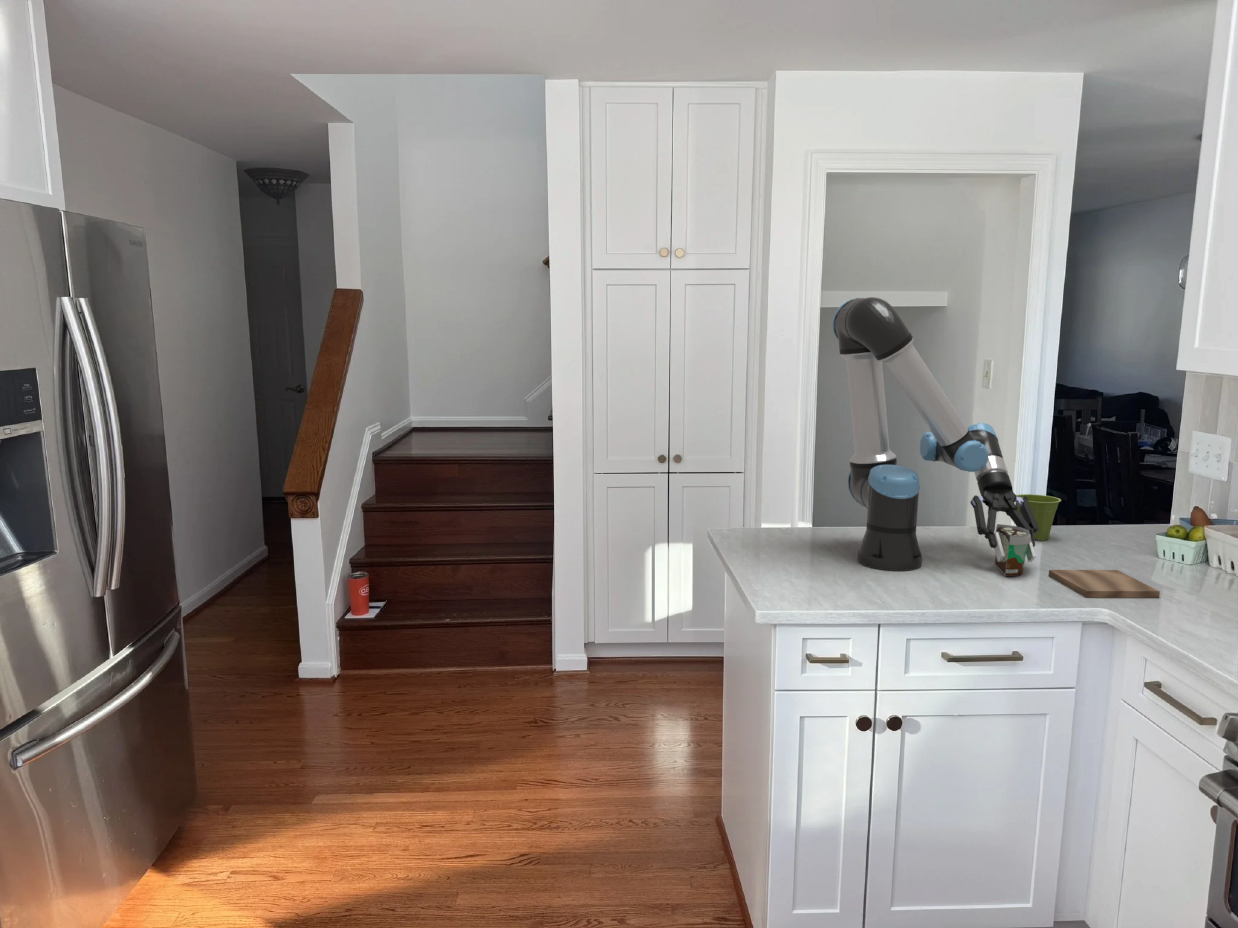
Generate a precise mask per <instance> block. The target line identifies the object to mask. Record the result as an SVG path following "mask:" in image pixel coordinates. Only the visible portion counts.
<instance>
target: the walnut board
mask: <svg viewBox="0 0 1238 928" xmlns="http://www.w3.org/2000/svg"><path fill="white" fill-rule="evenodd" d="M1048 577H1049V578H1051V579H1053V580H1055V581H1056V582H1059V583H1060V584H1062V585H1063V586H1065V587H1066V588H1068V589H1070V590H1072V591H1074V592H1075V593H1077V594H1078V595H1080V596H1082V597H1084V599H1085V598H1087V599H1088V598H1089V599H1092V598H1093V599H1097V598H1098V599H1099V598H1100V599H1101V598H1102V599H1103V598H1104V599H1108V598H1109V599H1114V598H1115V599H1117V598H1118V599H1127V598H1128V599H1133V598H1134V599H1137V598H1138V599H1159V598H1160V595H1161V591H1160V590H1158V589H1156V588H1154V587H1153V586H1151V585H1148V584H1146V583H1144V582H1142V581H1140V580H1138V579H1136V578H1134V577H1132V576H1130V575H1128V574H1126V573H1124V572H1122V571H1120V570H1118V569H1048Z"/></svg>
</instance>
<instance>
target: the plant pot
mask: <svg viewBox="0 0 1238 928" xmlns="http://www.w3.org/2000/svg"><path fill="white" fill-rule="evenodd" d="M1015 495H1016V496H1017V497H1021V498H1023V497H1024V496H1027V497H1028V500H1029V506H1030V509H1031V511H1032V513H1033V515H1034V518H1035V520H1036V522H1037V524H1038V527H1039V530H1038V532H1037V533H1036V534H1035V535H1034V536H1033V537H1034V541H1036V540H1039V541H1046V540H1049V538H1050V533H1051V530H1052V526H1053V522H1054V518H1055V515H1056V511H1057V510H1058V506H1059V503H1061V502H1062V499H1061V498H1059V497H1055V496H1050V495H1045V494H1044V495H1042V494H1032V493H1031V494H1030V493H1025V494H1023V493H1022V494H1015ZM1015 505H1016V506H1017V509H1018V511H1019V512H1020V514H1021V515H1022V513H1021V511H1020V507H1018V504H1017V502H1015Z"/></svg>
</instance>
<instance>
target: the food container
mask: <svg viewBox="0 0 1238 928" xmlns="http://www.w3.org/2000/svg"><path fill="white" fill-rule="evenodd" d="M995 532H998V533H999V536H1000V540H1001V543H1002V547H1003V550H1004V553H1005V557H1004V558H1003V560H1002V561H1001V562H998V561H997V557H996V554H995V553H994V555H995V556H994V566H995V567H996V568H997V569H998V570H999V571H1000V572H1001V573H1002V574H1003V576H1004V577H1018V576H1021V575H1023V572H1024V569H1025V568H1024V566H1025V562H1026V558H1027V556H1026V551H1027V546H1028V543H1030V542H1031V535H1030V534H1029V531H1028V530H1026V529H1023V528H1020V527H1017V526H1016V525H1011V524H1001V523H1000V524H997V523H996V526H995Z"/></svg>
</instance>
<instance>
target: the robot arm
mask: <svg viewBox="0 0 1238 928" xmlns="http://www.w3.org/2000/svg"><path fill="white" fill-rule="evenodd" d="M831 323H832V330H833V334H834V336H835V337H836V339H837V340H838V349H839V356H840V357H842V359H844V360H845V361H846V369H847V377H848V378H847V379H848V392H849V400H850V401H849V403H850V411H851V412H850V413H851V423H852V435H853V446H854V447H853V448H854V454H853V455H852V456H851V457H850V458H849V469H850V471H849V473H848V475H847V480H846V481H847V483H846V484H847V489H848V491H849V494H850V496H852V498H853V499H854V500H855V501H856V502H857V503H858V504H860V505H861V506H862V507H865V508H866V509H867V513H866V530H865V532H864V534H863V538H862V539H861V542H860V545H859V547H858V550H857V562H858V563H859V564H862V565H863V566H866V567H869V568H874V569H878V570H884V571H886V570H887V571H898V572H899V571H900V572H901V571H902V572H903V571H913V570H916V569H919V568H921V567H922V561H923V555H922V552H921V547H920V544H919V540H918V537H917V521H918V508H919V507H918V506H919V495H920V494H919V493H920V487H921V486H920V477H919V473H917V471H916V470H913V469H912V468H910V467H906V466H902V465H898V462H897V455H896V454H895V453H894V452H893V451H891V449H890V441H889V440H890V439H889V429H888V416H887V406H886V393H885V392H886V391H885V381H884V370H883V369H884V368H883V364H885V366H886V367H887V369H888V371H889V373H890V374H891V375H892V377H893V378H894V379H895V381H896V382H897V384H898V385H899V387H900V388H901V390H902V391H903V393H904V394H905V396H906V397H907V399H908V400H909V402H910V404H911V405H912V406H913V407H914V409H915V410H916V412H917V414H918V415H919V417H920V418H921V419H922V421H923V422H924V424H925V425H926V427H927V428H928V429H929V431H925V433H923V435H922V436H921V437H920V442H919V453H920V456H921V458H922V460H924V461H927V462H929V461H930V462H934V463H935V462H943V463H945V464H948V465H950V466H952V467H955V468H957V469H959V470H961V471H964V472H968V473H969V472H970V473H974V477H975V480H976V482H977V487H978V491H979V493H980V496H978V495H975V494H974V496H973V497H972V498H971V500H970V501H969V502H970V505H971V506H972V508H973V512H974V517H975V524H976V525H975V526H976V531H977V534H978V535H980V536H982V535H984V538H985V539H986V540H987V542H988V543H989V546H990V548H991V549H994V555H995V554H996V557H997V561H998V562H1001V561H1002V560H1003V558H1004V557H1005V553H1004V550H1003V547H1002V543H1001V540H1000V536H999V533H998V532H996V521H997V513H999V512H1003V513H1005V514H1006V515H1007V516H1008V517H1009V518H1010V519H1011V521H1012V522H1013V523H1014V524H1015V525H1014V526H1016V527H1020V528H1023V529H1026V530H1028V531H1029V534H1030V535H1031V542H1030V543H1028V546H1027V551H1026V559H1027V562H1028V563H1032V562H1033V561H1035V559H1036V557H1037V554H1036V550H1035V549H1034V548H1035V546H1036V542H1035V541H1036V540H1034V537H1033V536H1034V535H1035V534H1036V533H1037V532H1038V530H1039V527H1038V524H1037V522H1036V520H1035V518H1034V515H1033V513H1032V511H1031V509H1030V506H1029V500H1028V497H1027V496H1024V497H1023V498H1021V497H1017V496H1016V495H1017V494H1016V493H1014V490H1013V489H1014V488H1013V484H1012V482H1011V479H1010V475H1009V472H1008V469H1007V466H1006V463H1005V459H1004V456H1003V452H1002V449H1001V447H1000V443H999V437H997V434H996V431H995V430H994V428H993V427H992V425H990V424H988V423H985V422H978V423H977V424H970V425H969V426H967V425H966V424H965V422H964V420H963V419H962V418H961V416H960V415H959V413H958V411H957V410H956V408H955V407H954V405H953V404H952V402H951V401H950V400H949V398H948V396H947V395H946V393H945V391H944V390H943V388H942V387H941V386H940V384H939V383H938V381H937V380H936V378H935V376H934V375H933V374H932V372H931V371H930V369H929V367H928V366H927V364H926V363H925V361H924V360H923V359H922V356H921V355H920V354H919V352H918V351H917V349H916V348H915V346H914V345H913V344H914V336H913V335H912V333H911V332H910V330H909V329H908V327H907V325H906V324H905V322H904V321H903V319H902V318H901V316H900V315H899V314H898V312H897V310H896V309H895V308H894V307H893V306H892V305H891V304H890V303H889V302H888V301H886V300H884V299H882V298H880V297H879V298H878V297H859V298H858V297H856V298H852V299H850V300H848V301H846V302H844V303H842V304H841V305H840V306H839V307H838V308H837V310H836V311H835V312H834V314H833V317H832V322H831ZM1016 502H1017V504H1018V507H1020V511H1021V513H1022V515H1021V514H1020V512H1019V511H1018V509H1017V506H1016ZM983 504H984V505H985V506H987V508H988V509H987V520H986V518H985V512H984V507H983Z"/></svg>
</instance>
